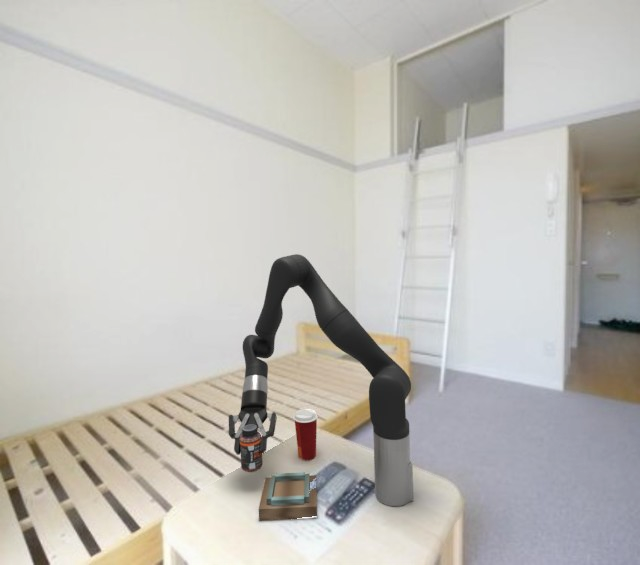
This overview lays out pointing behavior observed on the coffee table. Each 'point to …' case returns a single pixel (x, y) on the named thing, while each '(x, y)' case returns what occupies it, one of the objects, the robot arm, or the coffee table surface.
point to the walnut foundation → (288, 497)
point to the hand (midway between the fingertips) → (250, 453)
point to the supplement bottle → (250, 449)
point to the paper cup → (306, 433)
